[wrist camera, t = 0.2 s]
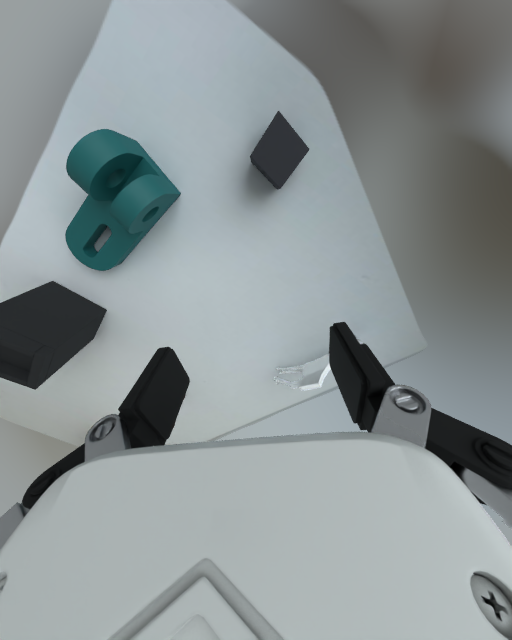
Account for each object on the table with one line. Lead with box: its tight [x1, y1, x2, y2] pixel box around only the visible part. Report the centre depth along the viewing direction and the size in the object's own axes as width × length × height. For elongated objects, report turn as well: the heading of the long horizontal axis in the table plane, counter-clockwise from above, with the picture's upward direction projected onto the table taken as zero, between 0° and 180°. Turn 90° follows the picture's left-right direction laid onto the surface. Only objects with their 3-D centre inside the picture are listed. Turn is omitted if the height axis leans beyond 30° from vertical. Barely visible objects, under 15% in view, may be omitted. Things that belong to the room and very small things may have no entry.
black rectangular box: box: [0, 281, 107, 389], centre depth 31 cm, size 9×9×12 cm
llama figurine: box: [273, 339, 364, 391], centre depth 40 cm, size 2×11×18 cm
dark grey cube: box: [250, 111, 309, 189], centre depth 22 cm, size 4×4×4 cm
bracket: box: [66, 129, 181, 271], centre depth 24 cm, size 18×7×8 cm, turn 129°
